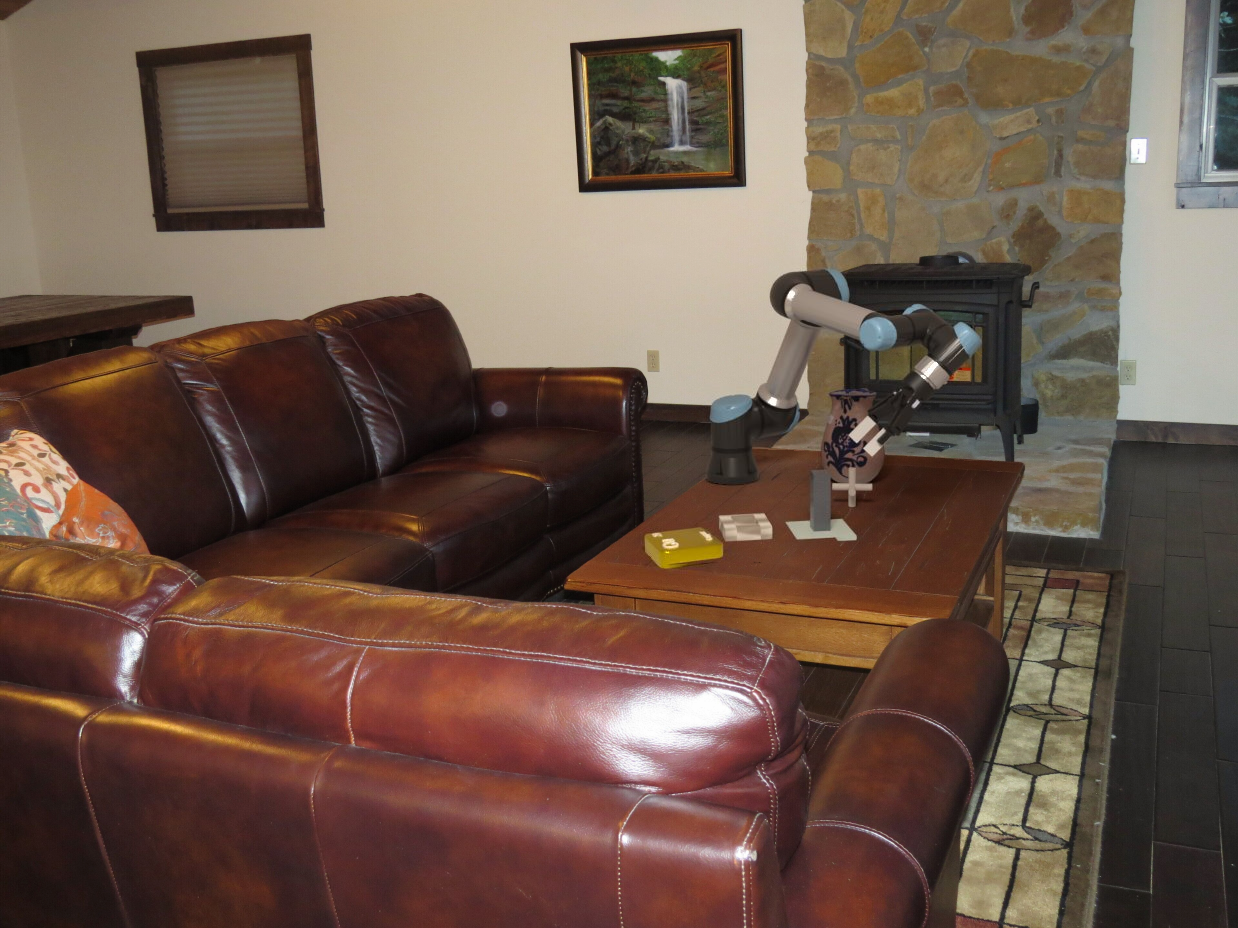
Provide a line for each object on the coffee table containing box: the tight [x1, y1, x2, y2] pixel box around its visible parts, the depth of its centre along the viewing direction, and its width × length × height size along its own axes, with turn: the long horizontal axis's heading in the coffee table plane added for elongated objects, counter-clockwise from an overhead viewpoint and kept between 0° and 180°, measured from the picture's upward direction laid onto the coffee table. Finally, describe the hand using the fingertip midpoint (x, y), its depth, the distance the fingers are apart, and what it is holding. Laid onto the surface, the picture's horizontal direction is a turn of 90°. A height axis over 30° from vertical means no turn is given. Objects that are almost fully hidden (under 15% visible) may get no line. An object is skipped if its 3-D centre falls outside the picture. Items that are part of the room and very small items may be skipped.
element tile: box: [644, 526, 724, 569], centre depth 257 cm, size 15×15×5 cm
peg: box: [809, 469, 832, 532], centre depth 267 cm, size 4×4×14 cm
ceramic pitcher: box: [820, 387, 886, 484], centre depth 312 cm, size 18×21×25 cm
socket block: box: [718, 512, 773, 542], centre depth 268 cm, size 11×11×4 cm
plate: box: [785, 518, 858, 542], centre depth 269 cm, size 14×14×1 cm
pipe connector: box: [831, 468, 873, 508], centre depth 289 cm, size 10×10×10 cm
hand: (859, 445), depth 265 cm, fingers open, 13 cm apart
